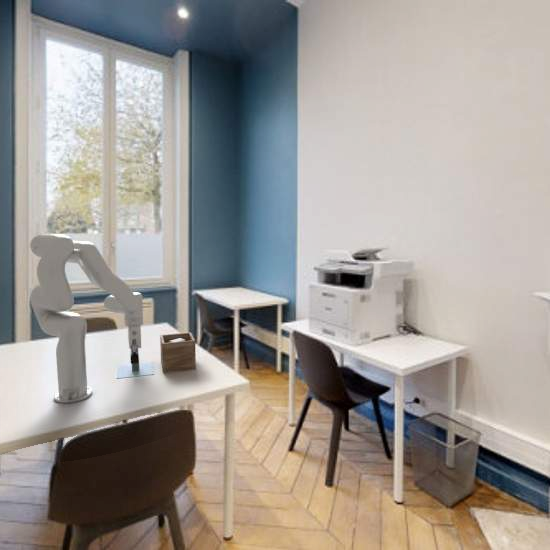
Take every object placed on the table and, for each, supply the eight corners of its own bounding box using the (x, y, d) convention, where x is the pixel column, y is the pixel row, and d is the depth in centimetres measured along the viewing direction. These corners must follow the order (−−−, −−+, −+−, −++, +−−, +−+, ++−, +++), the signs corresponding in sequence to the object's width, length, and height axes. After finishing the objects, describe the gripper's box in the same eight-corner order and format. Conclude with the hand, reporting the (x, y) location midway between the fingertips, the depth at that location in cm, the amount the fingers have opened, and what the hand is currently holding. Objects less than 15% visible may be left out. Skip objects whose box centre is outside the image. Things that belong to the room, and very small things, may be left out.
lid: (154, 375, 167) (154, 361, 166) (116, 380, 162) (116, 365, 161) (152, 364, 181) (152, 350, 180) (118, 367, 176) (117, 354, 175)
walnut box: (195, 369, 173) (195, 340, 172) (163, 372, 169) (162, 343, 167) (191, 358, 187) (190, 332, 185) (160, 362, 182) (160, 335, 180)
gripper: (143, 325, 162) (144, 365, 164) (142, 316, 178) (143, 353, 180) (124, 326, 159) (125, 367, 161) (124, 317, 175) (125, 354, 177)
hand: (134, 359), depth 171 cm, fingers open, 9 cm apart
